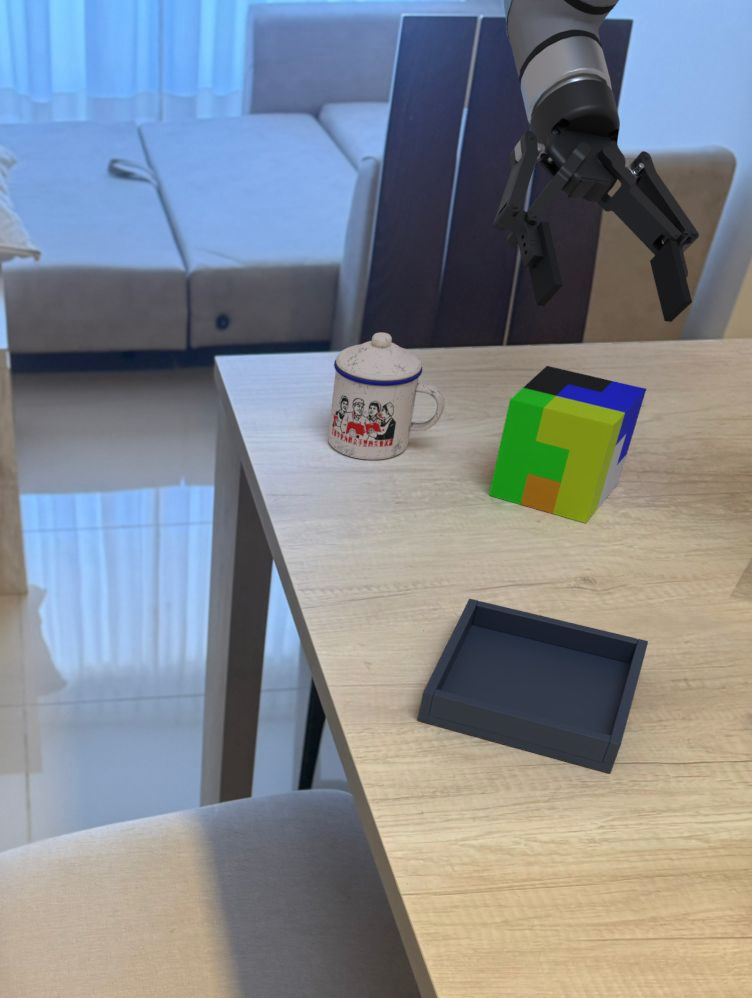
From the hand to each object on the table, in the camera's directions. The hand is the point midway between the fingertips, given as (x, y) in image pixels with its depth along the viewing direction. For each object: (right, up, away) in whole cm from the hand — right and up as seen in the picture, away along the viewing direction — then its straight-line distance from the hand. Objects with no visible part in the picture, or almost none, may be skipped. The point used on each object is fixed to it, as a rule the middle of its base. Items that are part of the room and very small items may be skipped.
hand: (615, 304), depth 102 cm
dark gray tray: (-11, -36, -10) cm, 38 cm away
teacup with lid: (-16, -6, +23) cm, 29 cm away
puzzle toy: (0, -12, +16) cm, 20 cm away
